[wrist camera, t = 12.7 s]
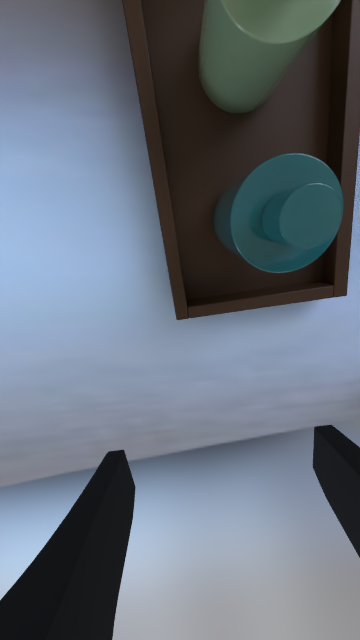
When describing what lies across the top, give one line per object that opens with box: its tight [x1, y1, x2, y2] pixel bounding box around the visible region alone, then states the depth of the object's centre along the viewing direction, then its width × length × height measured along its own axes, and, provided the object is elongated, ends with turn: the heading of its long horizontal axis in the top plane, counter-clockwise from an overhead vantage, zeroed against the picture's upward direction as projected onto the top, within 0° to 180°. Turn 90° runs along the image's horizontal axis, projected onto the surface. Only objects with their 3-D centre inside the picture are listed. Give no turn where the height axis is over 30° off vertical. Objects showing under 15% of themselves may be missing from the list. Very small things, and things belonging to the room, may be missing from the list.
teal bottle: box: [213, 153, 343, 273], centre depth 12 cm, size 4×4×8 cm
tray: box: [122, 0, 360, 320], centre depth 13 cm, size 11×26×2 cm, turn 9°
